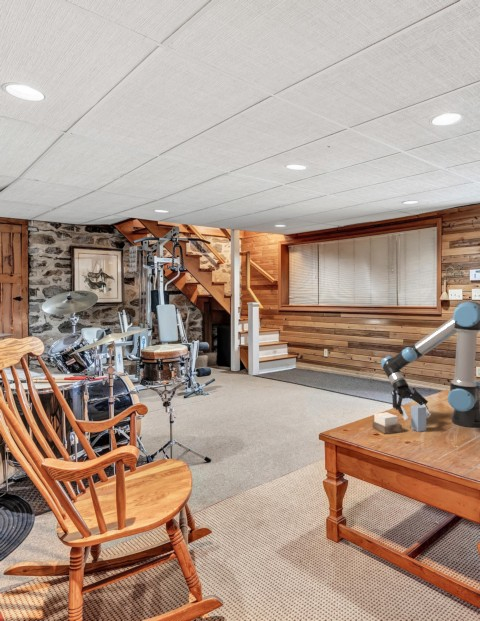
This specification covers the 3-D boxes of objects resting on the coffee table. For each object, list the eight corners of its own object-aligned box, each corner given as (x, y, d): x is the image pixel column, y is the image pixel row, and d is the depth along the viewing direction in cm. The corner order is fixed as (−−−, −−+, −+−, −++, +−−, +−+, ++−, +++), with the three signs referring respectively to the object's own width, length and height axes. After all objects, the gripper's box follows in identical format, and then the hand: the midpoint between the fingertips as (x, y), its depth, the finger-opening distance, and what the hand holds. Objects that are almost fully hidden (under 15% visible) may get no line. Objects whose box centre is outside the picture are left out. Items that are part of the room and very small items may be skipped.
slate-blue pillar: (419, 427, 214) (419, 404, 213) (426, 430, 209) (426, 407, 208) (411, 428, 212) (411, 405, 212) (418, 431, 207) (417, 408, 207)
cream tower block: (386, 419, 216) (386, 412, 216) (397, 424, 209) (397, 416, 209) (374, 421, 214) (374, 414, 213) (385, 426, 206) (384, 418, 206)
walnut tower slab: (389, 426, 217) (389, 419, 217) (401, 432, 208) (401, 424, 208) (372, 428, 214) (372, 421, 214) (384, 435, 205) (384, 427, 205)
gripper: (414, 384, 230) (434, 418, 216) (375, 388, 223) (393, 424, 209) (421, 376, 225) (441, 411, 211) (381, 380, 218) (400, 416, 204)
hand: (417, 417), depth 210 cm, fingers open, 13 cm apart
